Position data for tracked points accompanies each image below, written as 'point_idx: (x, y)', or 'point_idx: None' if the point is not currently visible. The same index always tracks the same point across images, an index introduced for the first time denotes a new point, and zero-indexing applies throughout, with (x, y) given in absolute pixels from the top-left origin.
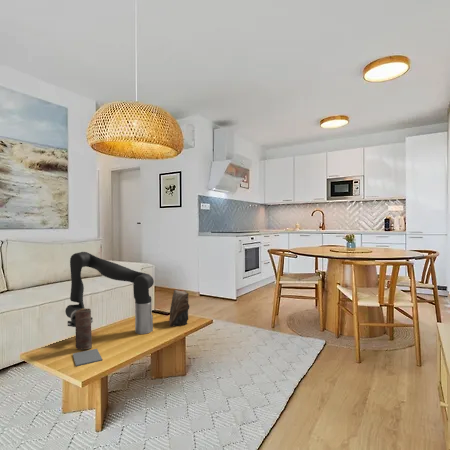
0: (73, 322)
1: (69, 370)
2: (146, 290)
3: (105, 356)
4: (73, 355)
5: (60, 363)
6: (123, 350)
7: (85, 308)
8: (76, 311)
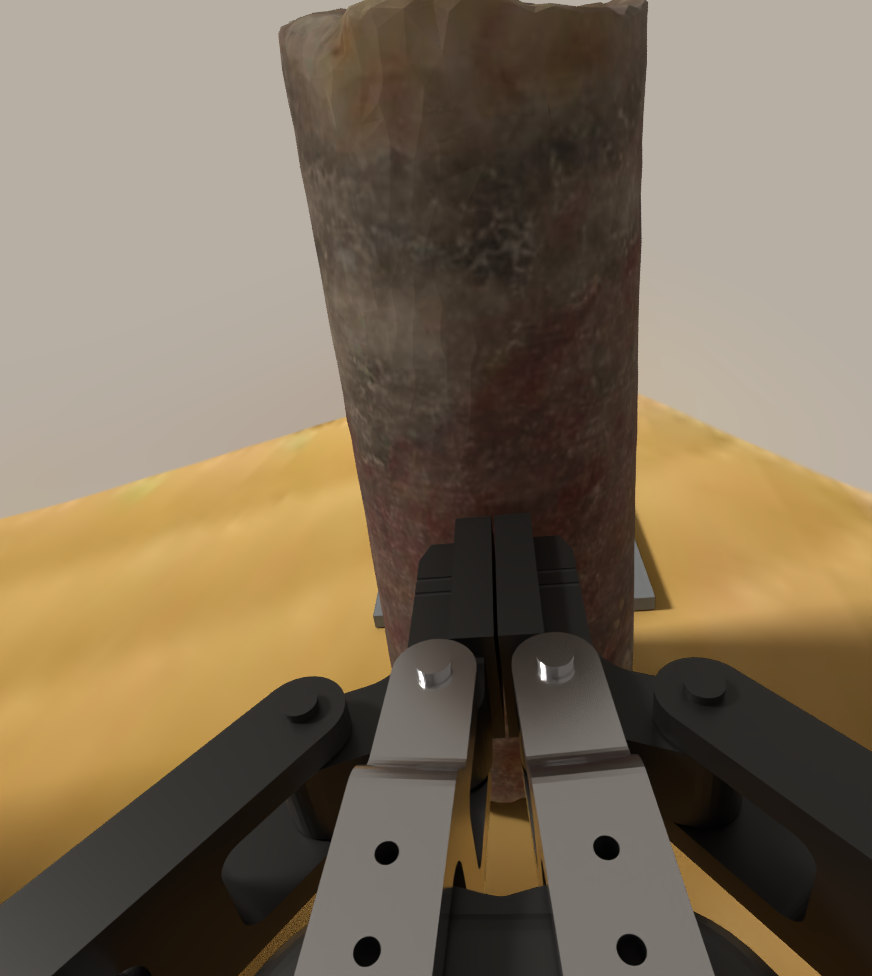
0: (797, 714)
1: (640, 425)
2: None
3: (361, 502)
4: (638, 559)
5: (744, 504)
6: (186, 541)
7: (364, 2)
8: (620, 7)
